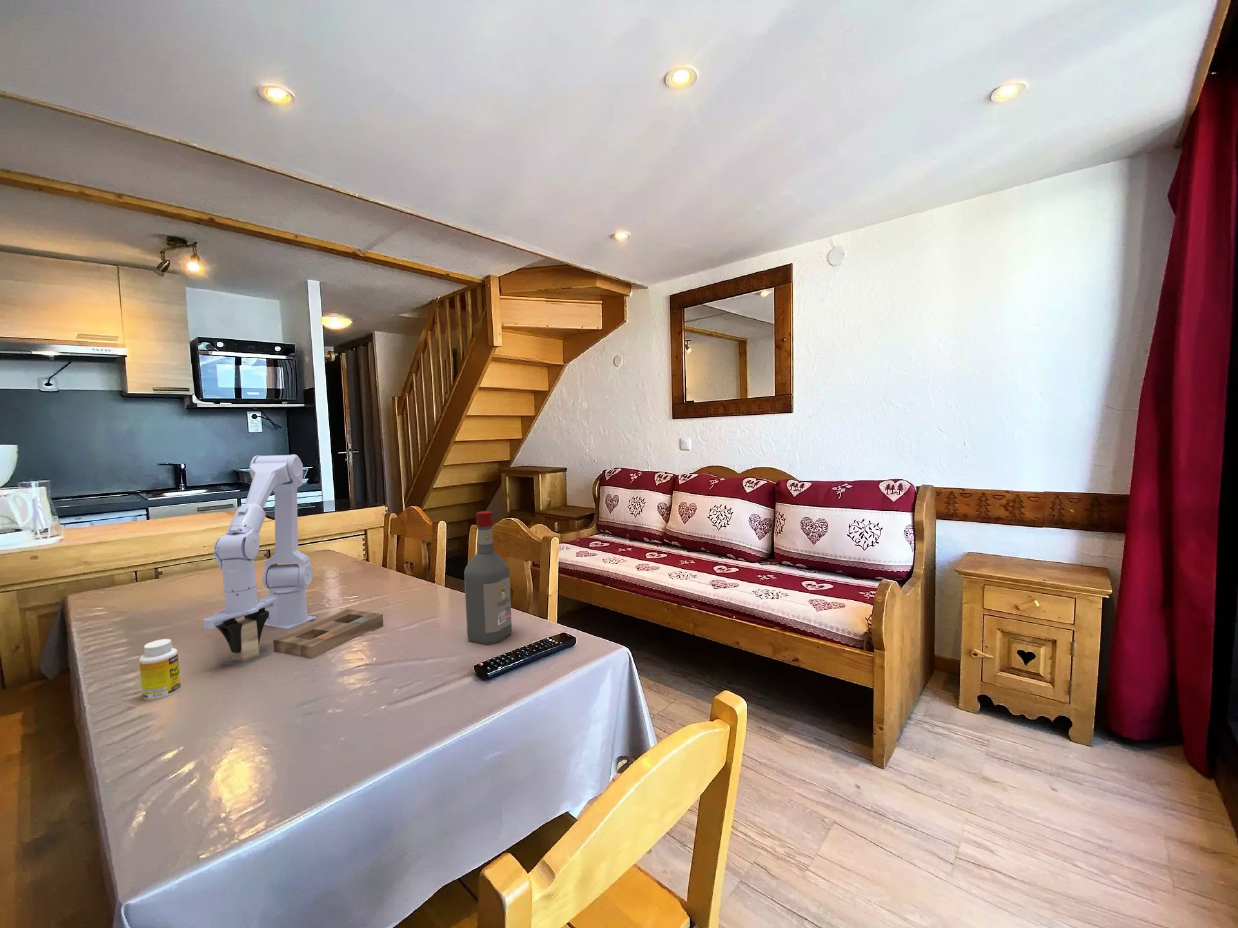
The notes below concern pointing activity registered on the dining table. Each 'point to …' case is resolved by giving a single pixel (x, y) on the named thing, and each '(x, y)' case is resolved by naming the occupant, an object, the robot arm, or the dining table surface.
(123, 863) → the dining table surface
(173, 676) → the supplement bottle
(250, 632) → the birch plug
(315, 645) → the socket board
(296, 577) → the robot arm
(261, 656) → the mat
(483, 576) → the liquor
